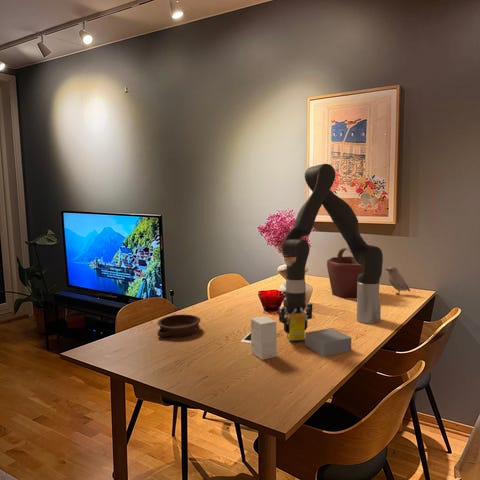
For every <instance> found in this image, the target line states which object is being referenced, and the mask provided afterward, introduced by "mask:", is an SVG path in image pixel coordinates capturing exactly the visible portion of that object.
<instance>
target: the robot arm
mask: <svg viewBox="0 0 480 480" xmlns="http://www.w3.org/2000/svg"><path fill="white" fill-rule="evenodd" d="M304 179H305V182H306V185H307V186H308V188H309V189H310V191H311V192H312V193H310V196H309V197H308V198H307V200H306V201H305V202H304V203H303V205H302V206H301V207H300V210H299V211H298V213H297V216H296V219H295V221H294V224H293V226H292V228H291V229H290V230H289V232H288V233H287V235H286V236H285V238H284V239H283V241H282V244H281V245H282V246H281V251H282V254H283V255H284V256H287V257H292V258H295V261H294V262H290V263H287V264H286V277H285V279H286V281H285V302H286V304H285V306H282V307H281V306H279V307H278V322H280V323H282V324H283V331H284V332H285V333H286V334H287V333H289V319H290V317H289V316H288V313H289V314H290V315H293V314H296V313H303V314H304V315H305V331H307V329H308V320H312V319H313V304H312V303H310V302H306V289H307V287H306V264H307V262H308V257H309V255H310V249H311V248H310V245H309V242H308V241H307V240H306V239H303V237H308V236H310V234H311V233H312V230H313V228H314V225H315V221H316V218H317V216H318V214H319V211H320V209H321V207H322V206H323V208H324V210H325V211H326V212H327V214H328V216H329V217H330V219H331V220H332V222H333V224H334V225H335V227H336V229H337V230H338V232H339V233H340V235H341V236H342V238H343V239H344V241H345V242H346V245H347V246H348V248H350V250H351V252H352V253H351V252H350V253H351V254H352V257H354V259H355V260H356V262H357V263H359V264H361V265H363V266H364V272H363V273H362V274H359V275H358V277H357V299H356V321H358V322H359V323H362V324H377V323H378V322H380V321H381V315H382V314H381V313H382V312H381V311H382V310H381V309H382V308H381V307H382V306H381V305H382V300H381V299H380V281H381V280H380V279H381V278H382V272H383V264H384V263H383V261H384V256H383V252H382V249H381V248H380V247H378V246H375V245H371V244H367V243H366V241H365V240H364V238H363V237H362V235H361V234H360V230H359V229H360V227H359V226H360V225H359V219H358V217H357V215H356V213H355V211H354V210H353V208H352V207H351V205H349V203H348V202H346V201H345V200H344V199H342V198H341V197H339V196H338V195H337V194H336V193H334V192H333V191H332V190H331V188H332V187H333V185H334V182H335V180H336V171H335V168H334V167H333V166H332V165H331V164H329V163H322V164H317V165H313V166H309V167H308V168H307V169H306V170H305V172H304ZM305 309H306V310H305Z"/></svg>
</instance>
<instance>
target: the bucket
mask: <svg viewBox="0 0 480 480" xmlns="http://www.w3.org/2000/svg"><path fill="white" fill-rule="evenodd" d="M346 250H347V251H348V252H350V253H351V254H352V252H351V250H350V248H349V247H343V248H341V249H339V250H338V251H337V255H336V256H335V257H330V258H328V260H326V268H327V272H328V278H329V283H330V289H331V294H332V296H335V297H337V298H339V299H340V298H341V299H352V300H353V299H354V300H355V299H356V300H357V277H358V275H359V274H362V273H363V272H364V266H363V265H361V264H359V263H357V262H356V260H355V259H354V257H353V256H350V255H349V256H343V254H344V253H345V251H346Z"/></svg>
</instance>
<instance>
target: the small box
mask: <svg viewBox="0 0 480 480" xmlns="http://www.w3.org/2000/svg"><path fill="white" fill-rule="evenodd" d="M250 332H251V344H250V350H251V351H250V352H251V354H253V355H255V356H256V357H257V358H258V359H260V360H263V361H265V360H268V359H271V358H276V357H277V356H278V354H277V353H278V352H277V351H278V350H277V347H278V346H277V343H278V341H277V321H275V320H274V319H272V318H270V317H268V316H266V315H262V316H257V317H251V318H250Z"/></svg>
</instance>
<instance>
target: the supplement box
mask: <svg viewBox="0 0 480 480" xmlns="http://www.w3.org/2000/svg"><path fill="white" fill-rule="evenodd" d="M288 316H289V317H290V319H289V333H286V337H287V339H288V341H289V343H302V342H305V333H306V330H305V315H304V314H303V313H296V314H293V315H290V314H289V313H288Z"/></svg>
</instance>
